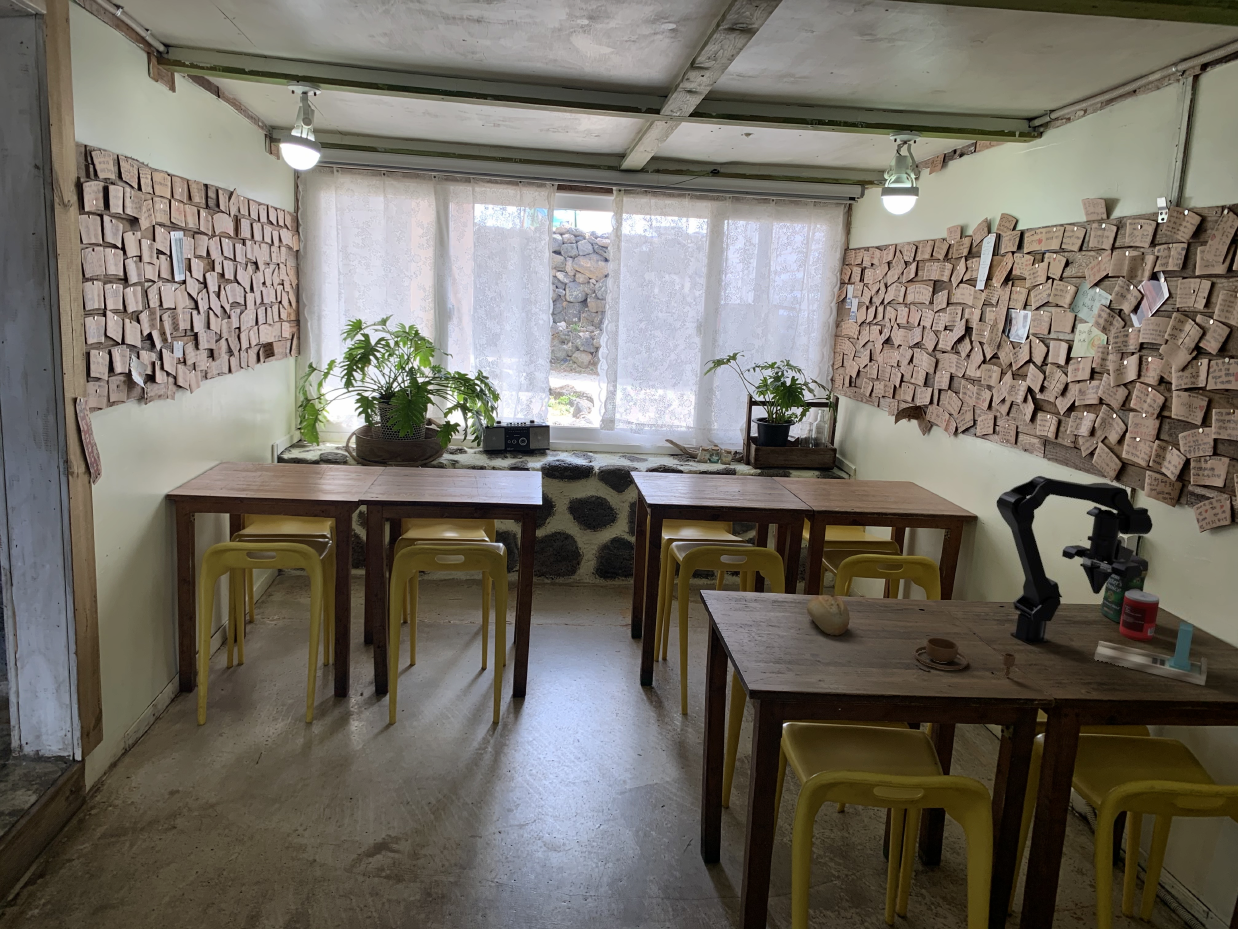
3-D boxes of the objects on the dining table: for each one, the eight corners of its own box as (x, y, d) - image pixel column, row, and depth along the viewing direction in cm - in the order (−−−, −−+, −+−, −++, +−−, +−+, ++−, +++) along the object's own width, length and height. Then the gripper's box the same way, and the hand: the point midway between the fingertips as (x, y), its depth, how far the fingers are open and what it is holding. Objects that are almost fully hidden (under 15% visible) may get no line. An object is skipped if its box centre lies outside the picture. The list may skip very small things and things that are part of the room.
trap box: (1094, 659, 204) (1096, 646, 203) (1098, 648, 211) (1100, 635, 210) (1204, 685, 192) (1207, 671, 191) (1204, 672, 199) (1207, 658, 198)
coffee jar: (1094, 612, 237) (1104, 548, 234) (1122, 612, 238) (1132, 548, 234) (1116, 624, 228) (1126, 558, 224) (1144, 625, 228) (1155, 559, 225)
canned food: (1148, 632, 223) (1155, 592, 221) (1156, 643, 216) (1163, 602, 214) (1115, 628, 226) (1122, 588, 223) (1122, 638, 218) (1129, 598, 216)
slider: (1168, 668, 196) (1175, 627, 194) (1169, 660, 201) (1176, 620, 199) (1189, 673, 194) (1196, 632, 192) (1189, 665, 199) (1197, 624, 197)
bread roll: (831, 615, 227) (834, 587, 225) (857, 637, 212) (860, 607, 211) (798, 616, 225) (800, 588, 223) (821, 638, 210) (824, 608, 209)
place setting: (947, 647, 209) (949, 624, 208) (1017, 680, 192) (1021, 656, 191) (894, 658, 201) (897, 635, 200) (963, 694, 184) (966, 668, 183)
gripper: (1163, 542, 207) (1153, 603, 210) (1096, 522, 224) (1088, 579, 227) (1129, 545, 203) (1120, 607, 206) (1064, 525, 220) (1056, 582, 223)
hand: (1096, 593), depth 215 cm, fingers closed
